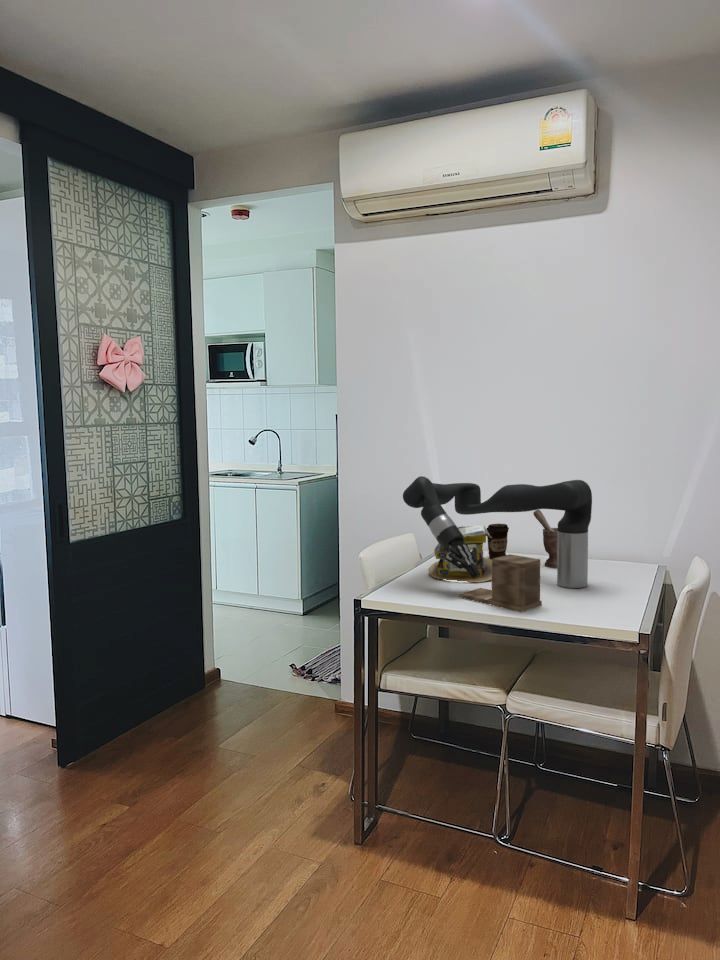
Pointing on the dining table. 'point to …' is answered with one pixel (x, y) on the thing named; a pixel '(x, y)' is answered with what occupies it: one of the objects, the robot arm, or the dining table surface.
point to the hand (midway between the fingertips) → (476, 576)
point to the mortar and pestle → (548, 539)
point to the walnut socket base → (511, 584)
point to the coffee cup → (497, 540)
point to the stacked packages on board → (449, 571)
